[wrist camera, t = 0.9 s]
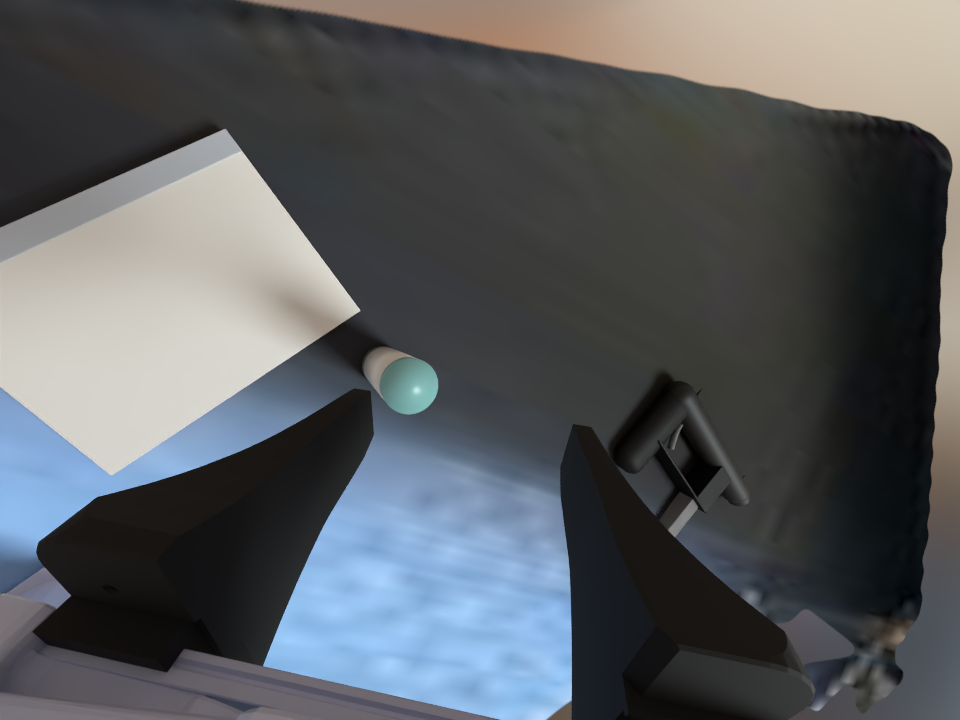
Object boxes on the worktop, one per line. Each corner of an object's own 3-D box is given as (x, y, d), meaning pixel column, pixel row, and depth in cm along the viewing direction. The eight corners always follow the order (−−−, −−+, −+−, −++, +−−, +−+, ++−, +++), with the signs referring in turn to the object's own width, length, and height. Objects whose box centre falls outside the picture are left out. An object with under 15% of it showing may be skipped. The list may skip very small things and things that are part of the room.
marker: (377, 392, 25) (404, 425, 17) (353, 361, 24) (369, 382, 17) (409, 368, 26) (448, 390, 18) (386, 338, 25) (417, 347, 17)
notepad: (119, 470, 20) (110, 476, 19) (-107, 286, 16) (-130, 284, 15) (359, 311, 24) (360, 310, 23) (229, 136, 20) (225, 128, 19)
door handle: (683, 592, 40) (762, 487, 43) (599, 489, 33) (701, 371, 36) (658, 572, 43) (734, 474, 46) (576, 473, 36) (673, 365, 39)
